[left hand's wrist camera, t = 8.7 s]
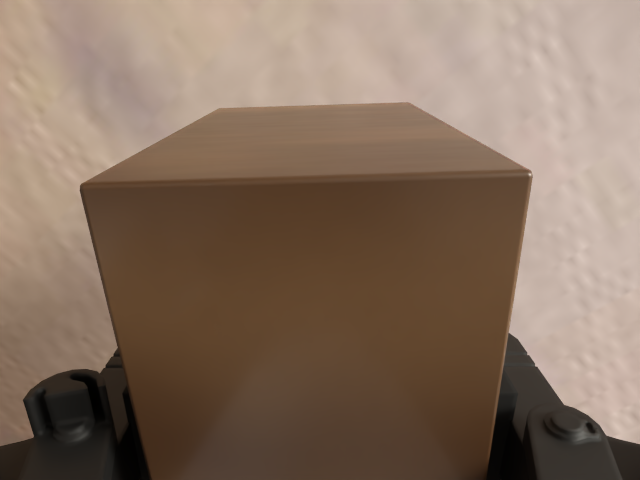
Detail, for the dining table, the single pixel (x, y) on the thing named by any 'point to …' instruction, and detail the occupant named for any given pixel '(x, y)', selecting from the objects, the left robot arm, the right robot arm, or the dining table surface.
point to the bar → (312, 293)
